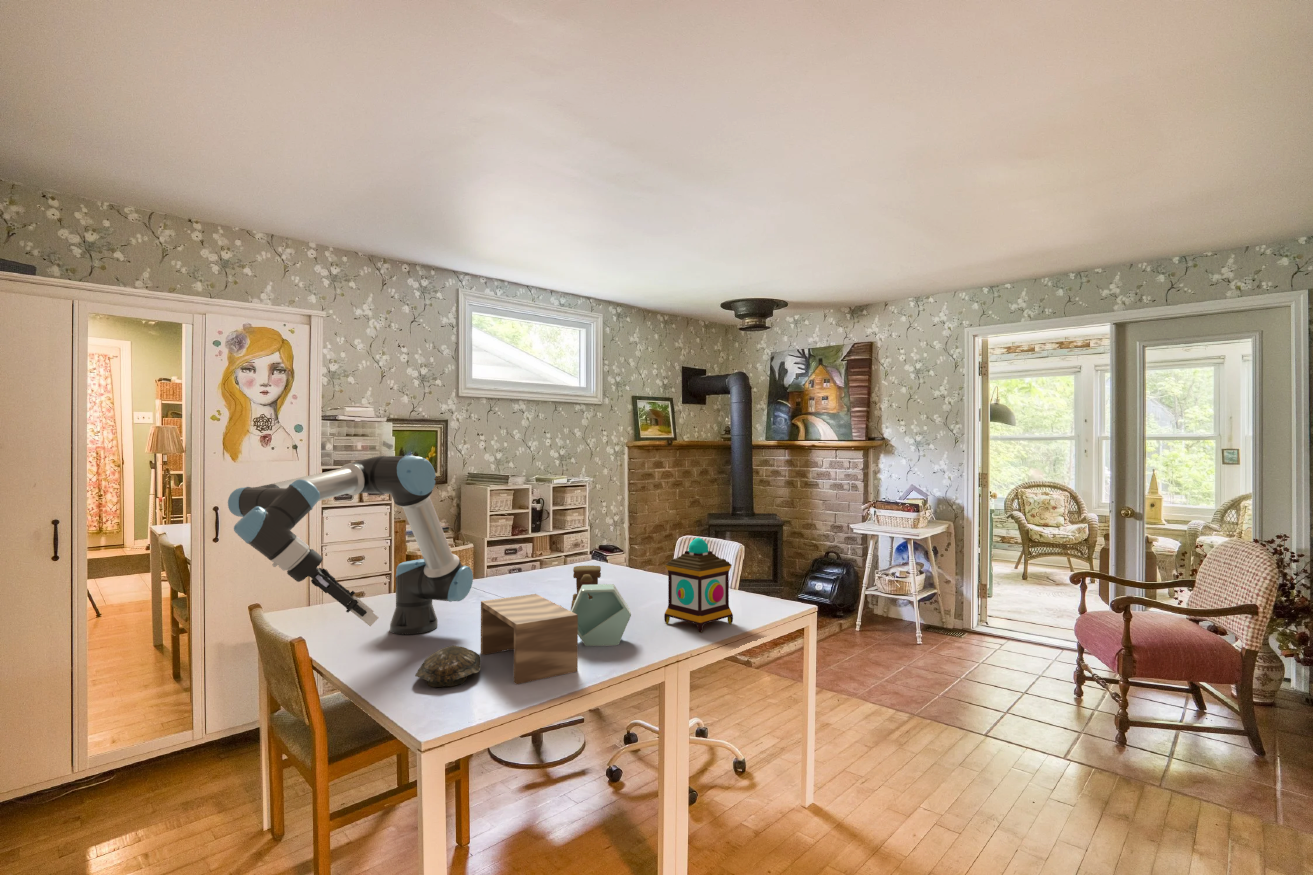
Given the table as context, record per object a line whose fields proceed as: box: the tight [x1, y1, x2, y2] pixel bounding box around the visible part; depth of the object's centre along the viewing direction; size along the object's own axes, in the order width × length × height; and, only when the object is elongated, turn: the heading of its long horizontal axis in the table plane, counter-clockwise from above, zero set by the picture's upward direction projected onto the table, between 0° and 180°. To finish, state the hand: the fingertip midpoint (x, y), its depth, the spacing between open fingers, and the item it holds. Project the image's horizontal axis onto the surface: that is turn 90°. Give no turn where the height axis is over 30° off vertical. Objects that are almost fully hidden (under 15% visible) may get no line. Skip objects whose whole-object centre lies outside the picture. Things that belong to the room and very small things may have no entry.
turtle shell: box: [415, 645, 482, 688], centre depth 168 cm, size 16×9×20 cm
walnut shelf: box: [480, 593, 579, 685], centre depth 180 cm, size 30×18×16 cm, turn 33°
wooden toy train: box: [570, 565, 602, 611], centre depth 230 cm, size 20×11×17 cm, turn 5°
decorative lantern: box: [663, 537, 734, 634], centre depth 220 cm, size 20×20×30 cm
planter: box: [570, 583, 632, 647], centre depth 198 cm, size 17×8×21 cm
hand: (371, 618), depth 158 cm, fingers open, 6 cm apart
